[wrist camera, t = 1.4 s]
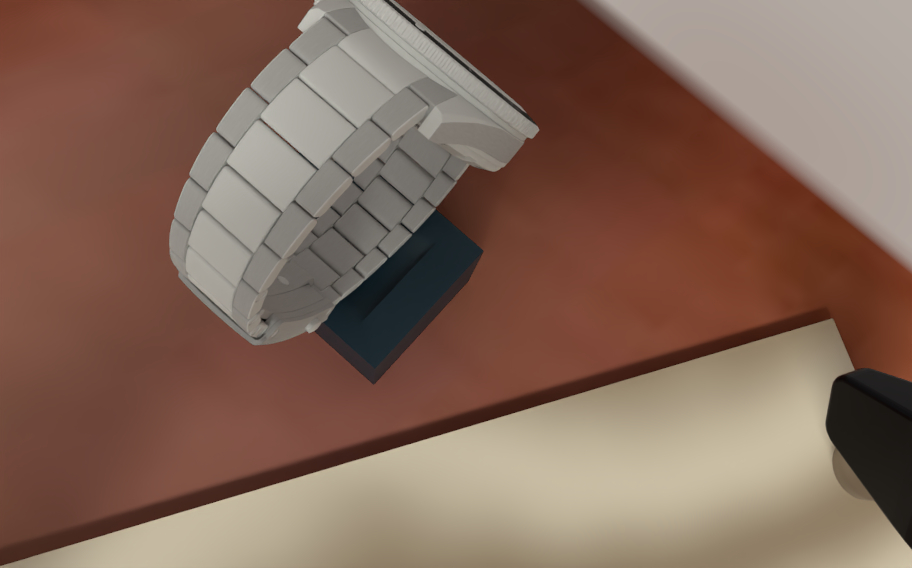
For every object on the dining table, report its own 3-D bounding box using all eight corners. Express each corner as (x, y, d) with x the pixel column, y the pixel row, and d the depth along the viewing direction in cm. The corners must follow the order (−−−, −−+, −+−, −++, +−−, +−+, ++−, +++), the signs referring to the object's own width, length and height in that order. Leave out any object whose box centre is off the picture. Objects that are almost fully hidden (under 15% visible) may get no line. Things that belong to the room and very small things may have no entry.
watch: (508, 237, 23) (624, 35, 13) (332, 430, 21) (297, 378, 11) (377, 125, 24) (385, -160, 13) (192, 302, 22) (26, 131, 11)
